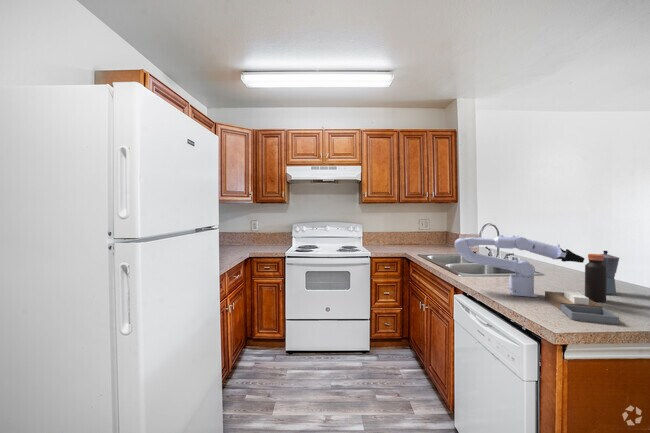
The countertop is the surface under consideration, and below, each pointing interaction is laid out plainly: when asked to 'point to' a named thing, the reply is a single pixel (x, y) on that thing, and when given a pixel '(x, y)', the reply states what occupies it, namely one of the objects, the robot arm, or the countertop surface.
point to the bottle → (595, 278)
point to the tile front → (579, 299)
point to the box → (589, 314)
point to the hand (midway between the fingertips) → (579, 259)
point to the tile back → (566, 293)
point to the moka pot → (610, 272)
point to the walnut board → (565, 300)
